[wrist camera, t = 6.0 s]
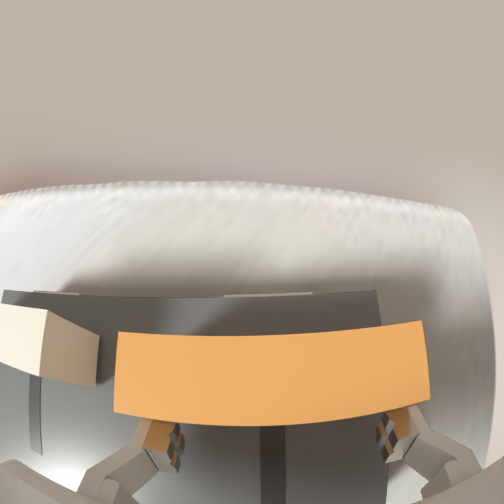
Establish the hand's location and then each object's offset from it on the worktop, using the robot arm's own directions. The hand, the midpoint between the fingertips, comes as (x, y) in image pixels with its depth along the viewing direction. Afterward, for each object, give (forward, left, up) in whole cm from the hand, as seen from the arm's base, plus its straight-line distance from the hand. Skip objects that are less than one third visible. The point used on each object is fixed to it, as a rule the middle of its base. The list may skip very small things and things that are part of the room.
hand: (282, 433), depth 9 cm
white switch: (+7, +14, -2) cm, 16 cm away
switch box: (-1, +9, -8) cm, 12 cm away
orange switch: (+2, 0, -2) cm, 3 cm away
